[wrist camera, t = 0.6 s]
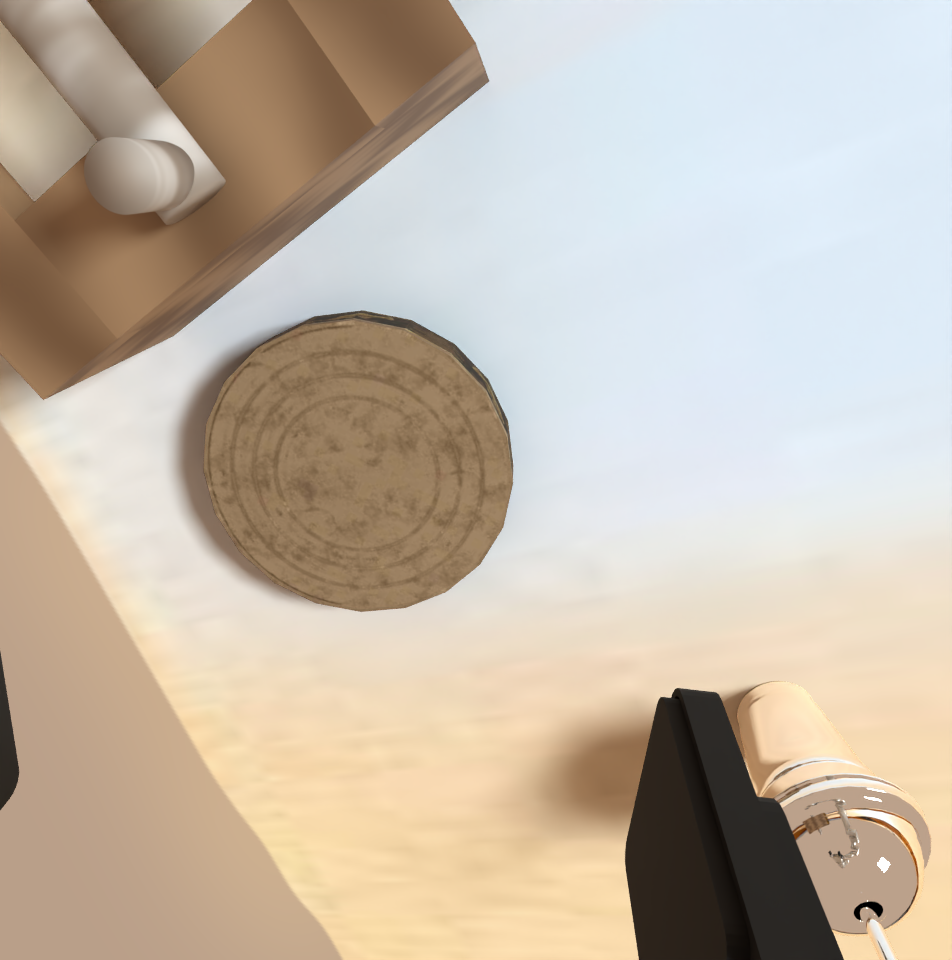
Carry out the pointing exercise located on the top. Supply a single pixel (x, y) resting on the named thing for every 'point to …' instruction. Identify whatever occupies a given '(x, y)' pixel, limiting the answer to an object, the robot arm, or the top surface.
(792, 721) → the cup with straw
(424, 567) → the brown round disc
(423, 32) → the shelf
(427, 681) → the top surface
